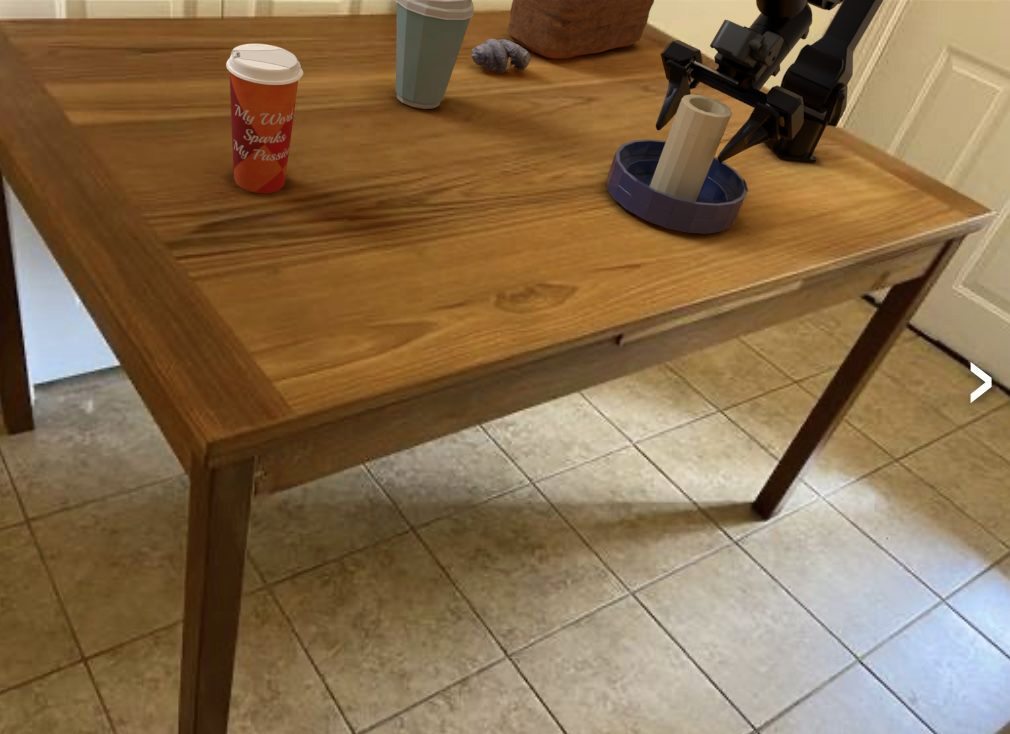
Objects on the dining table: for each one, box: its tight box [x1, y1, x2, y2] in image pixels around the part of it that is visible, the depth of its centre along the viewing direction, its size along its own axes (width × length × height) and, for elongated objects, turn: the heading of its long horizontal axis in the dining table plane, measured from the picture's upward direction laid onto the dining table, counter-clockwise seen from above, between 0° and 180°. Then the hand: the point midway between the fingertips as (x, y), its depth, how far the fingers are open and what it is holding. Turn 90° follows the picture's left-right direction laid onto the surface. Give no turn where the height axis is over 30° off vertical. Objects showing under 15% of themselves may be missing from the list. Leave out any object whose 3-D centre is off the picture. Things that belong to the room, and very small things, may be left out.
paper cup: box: [225, 43, 304, 194], centre depth 94 cm, size 8×8×14 cm
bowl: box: [606, 138, 749, 235], centre depth 112 cm, size 17×17×4 cm
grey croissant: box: [470, 38, 532, 75], centre depth 136 cm, size 5×5×10 cm
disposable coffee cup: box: [394, 0, 475, 110], centre depth 119 cm, size 11×11×15 cm
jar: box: [650, 94, 733, 202], centre depth 109 cm, size 6×6×12 cm
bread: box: [507, 0, 655, 60], centre depth 150 cm, size 14×28×12 cm, turn 135°
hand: (687, 144), depth 108 cm, fingers open, 9 cm apart
